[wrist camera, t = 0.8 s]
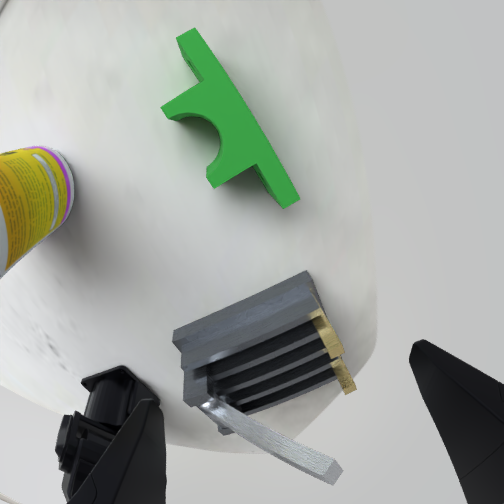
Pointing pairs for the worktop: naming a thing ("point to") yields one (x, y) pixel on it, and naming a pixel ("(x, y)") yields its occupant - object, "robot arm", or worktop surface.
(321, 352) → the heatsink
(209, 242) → the worktop surface
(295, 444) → the silver metal bar
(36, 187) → the supplement bottle
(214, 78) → the pipe clamp
